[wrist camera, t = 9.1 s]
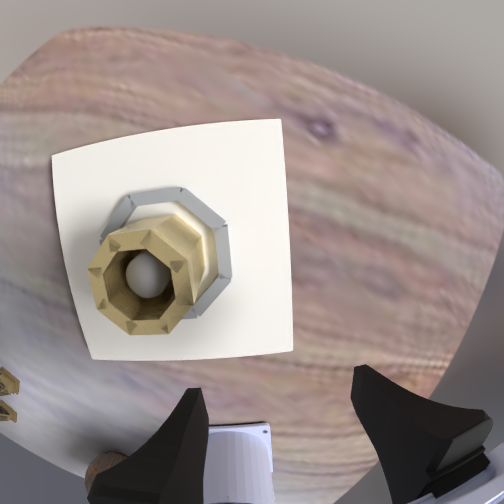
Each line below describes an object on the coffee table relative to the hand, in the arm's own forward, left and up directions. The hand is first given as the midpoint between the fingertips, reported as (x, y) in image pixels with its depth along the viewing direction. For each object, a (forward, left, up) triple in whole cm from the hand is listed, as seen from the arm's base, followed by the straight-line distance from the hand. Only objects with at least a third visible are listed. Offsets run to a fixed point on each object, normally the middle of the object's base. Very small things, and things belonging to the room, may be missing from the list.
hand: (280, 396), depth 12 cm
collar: (+5, +6, -8) cm, 11 cm away
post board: (+5, +6, -9) cm, 12 cm away
